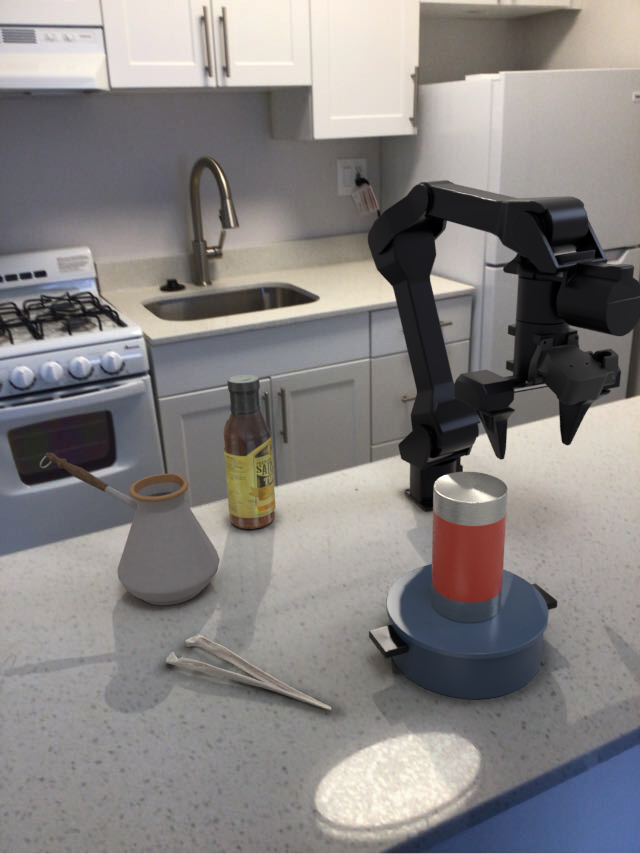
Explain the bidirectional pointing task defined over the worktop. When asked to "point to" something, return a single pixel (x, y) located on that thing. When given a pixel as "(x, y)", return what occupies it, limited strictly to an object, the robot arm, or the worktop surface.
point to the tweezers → (231, 657)
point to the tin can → (468, 545)
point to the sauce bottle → (248, 456)
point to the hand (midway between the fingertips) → (533, 451)
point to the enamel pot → (465, 638)
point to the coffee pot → (159, 538)
